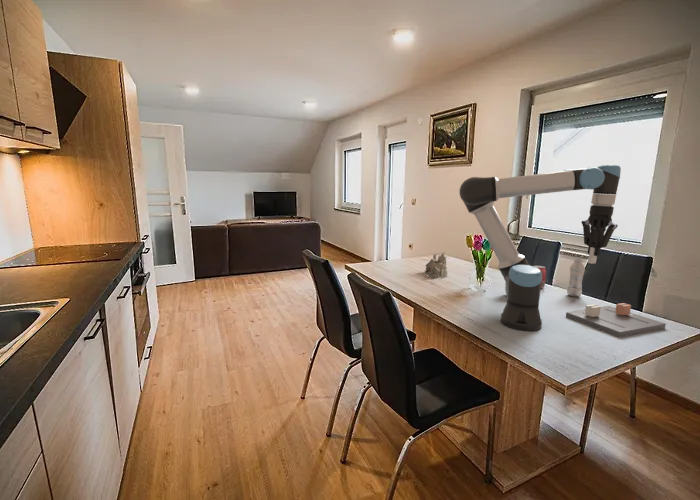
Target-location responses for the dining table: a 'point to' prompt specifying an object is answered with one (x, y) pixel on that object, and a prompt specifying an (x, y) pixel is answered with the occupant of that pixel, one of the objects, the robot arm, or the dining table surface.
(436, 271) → the ceramic cottage
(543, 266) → the soda can
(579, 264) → the plastic bottle
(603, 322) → the fader panel
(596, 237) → the robot arm
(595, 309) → the white fader
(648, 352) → the dining table surface
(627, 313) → the terracotta fader
